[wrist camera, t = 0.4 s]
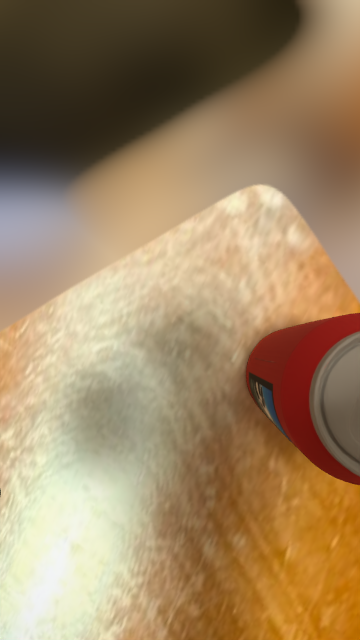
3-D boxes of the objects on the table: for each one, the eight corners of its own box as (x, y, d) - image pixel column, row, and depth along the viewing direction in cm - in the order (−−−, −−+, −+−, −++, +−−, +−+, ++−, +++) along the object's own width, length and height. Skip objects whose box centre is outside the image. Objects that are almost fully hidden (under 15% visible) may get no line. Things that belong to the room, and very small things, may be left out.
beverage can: (232, 404, 22) (268, 470, 10) (258, 317, 23) (321, 283, 11) (324, 434, 22) (475, 542, 10) (349, 344, 22) (523, 340, 10)
